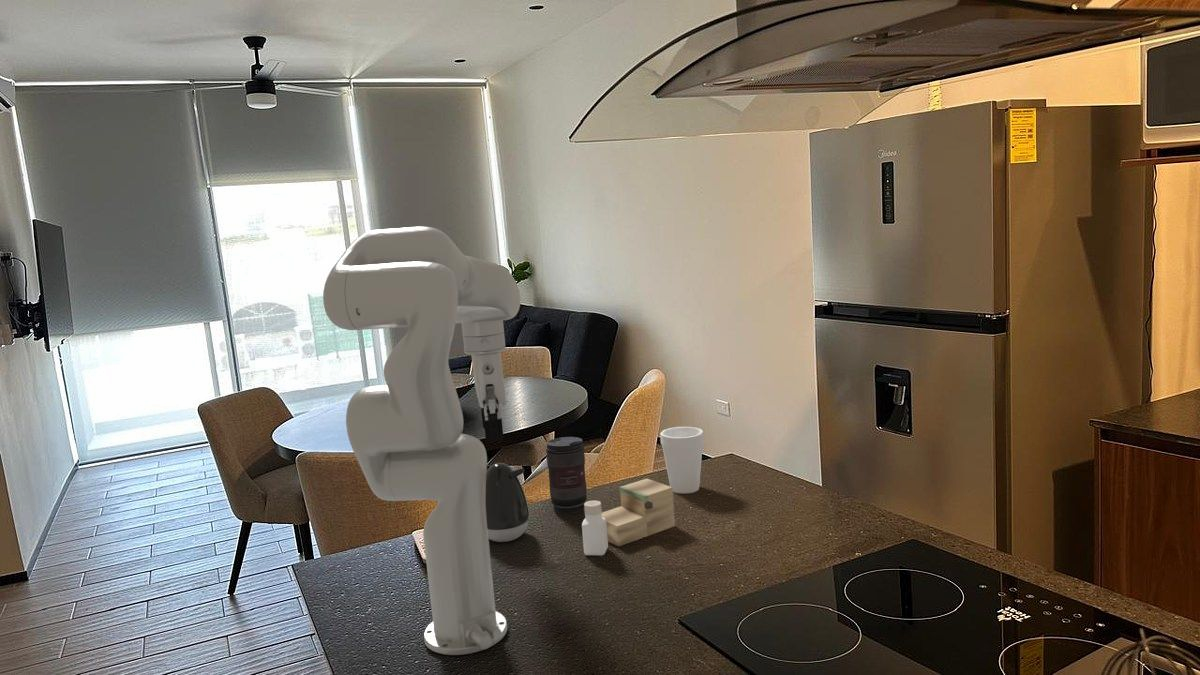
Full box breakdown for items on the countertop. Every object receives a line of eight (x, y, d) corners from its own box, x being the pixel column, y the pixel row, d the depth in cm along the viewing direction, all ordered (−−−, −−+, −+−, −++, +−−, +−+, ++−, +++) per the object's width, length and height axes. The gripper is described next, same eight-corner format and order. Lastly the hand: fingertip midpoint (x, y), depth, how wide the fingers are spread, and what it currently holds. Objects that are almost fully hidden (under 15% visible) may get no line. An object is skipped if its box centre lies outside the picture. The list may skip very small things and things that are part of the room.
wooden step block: (678, 527, 164) (675, 488, 163) (621, 548, 156) (619, 507, 155) (649, 515, 172) (646, 478, 170) (593, 534, 164) (590, 495, 162)
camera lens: (595, 504, 181) (590, 437, 178) (574, 517, 174) (569, 447, 172) (565, 499, 185) (559, 434, 183) (543, 512, 178) (537, 444, 176)
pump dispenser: (519, 549, 159) (512, 472, 157) (470, 545, 163) (463, 470, 160) (540, 528, 169) (533, 456, 167) (493, 526, 172) (486, 455, 170)
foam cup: (661, 496, 183) (658, 438, 181) (665, 482, 192) (662, 427, 190) (705, 495, 181) (702, 437, 179) (707, 481, 190) (704, 426, 188)
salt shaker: (588, 547, 158) (584, 499, 156) (608, 547, 157) (605, 499, 155) (583, 556, 154) (579, 507, 152) (604, 556, 153) (600, 507, 152)
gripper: (508, 348, 145) (517, 443, 148) (501, 335, 162) (509, 420, 165) (465, 353, 144) (474, 448, 146) (462, 339, 161) (471, 425, 163)
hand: (492, 433), depth 155 cm, fingers open, 9 cm apart
